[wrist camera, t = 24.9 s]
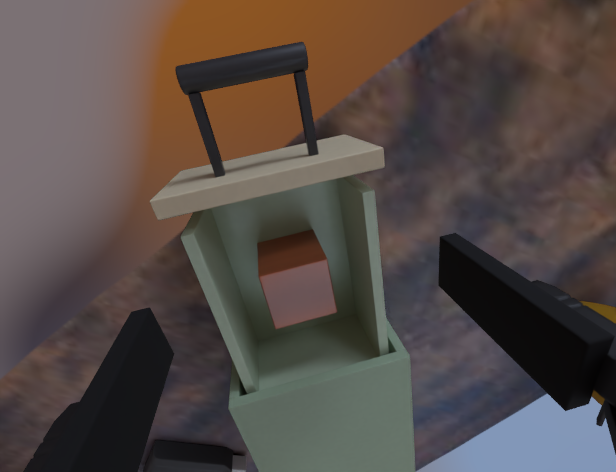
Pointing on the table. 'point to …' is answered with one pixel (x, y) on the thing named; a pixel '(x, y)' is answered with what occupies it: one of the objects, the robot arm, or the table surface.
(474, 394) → the table surface
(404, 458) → the cabinet
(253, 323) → the drawer
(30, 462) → the robot arm
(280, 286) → the block
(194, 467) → the usb drive
